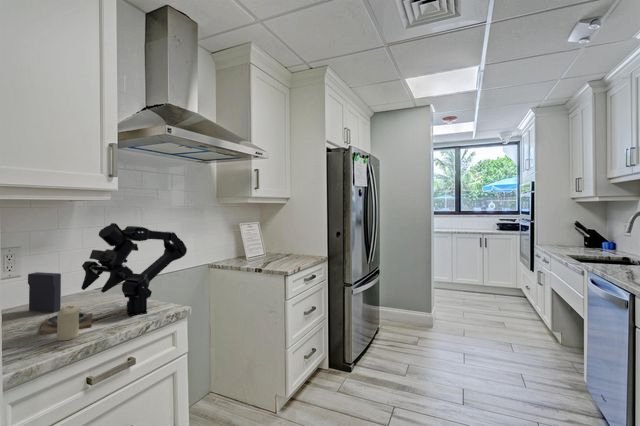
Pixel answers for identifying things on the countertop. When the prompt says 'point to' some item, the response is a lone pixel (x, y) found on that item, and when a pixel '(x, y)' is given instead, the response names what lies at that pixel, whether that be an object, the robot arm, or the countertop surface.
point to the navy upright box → (44, 292)
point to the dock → (54, 329)
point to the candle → (68, 323)
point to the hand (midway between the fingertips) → (92, 290)
